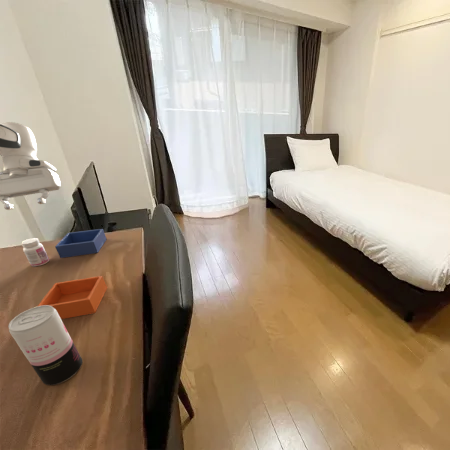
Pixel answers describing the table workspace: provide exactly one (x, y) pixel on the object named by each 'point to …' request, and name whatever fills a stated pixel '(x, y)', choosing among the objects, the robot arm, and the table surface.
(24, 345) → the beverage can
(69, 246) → the blue bin
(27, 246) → the pill bottle
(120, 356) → the table surface
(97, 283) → the terracotta bin
